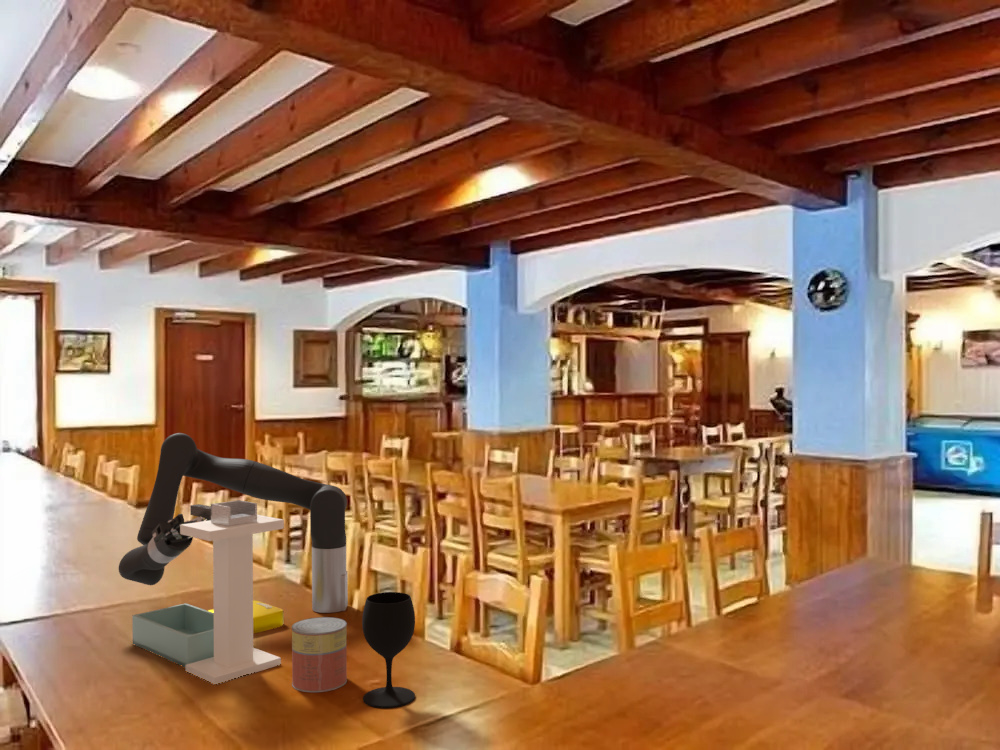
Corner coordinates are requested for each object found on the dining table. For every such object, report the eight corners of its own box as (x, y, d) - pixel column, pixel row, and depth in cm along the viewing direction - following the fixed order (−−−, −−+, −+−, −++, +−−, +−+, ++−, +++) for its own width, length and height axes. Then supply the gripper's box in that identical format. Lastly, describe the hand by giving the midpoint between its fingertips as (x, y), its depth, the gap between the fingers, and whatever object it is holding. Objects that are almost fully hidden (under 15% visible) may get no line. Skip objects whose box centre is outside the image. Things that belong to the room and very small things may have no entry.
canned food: (327, 668, 185) (327, 613, 185) (357, 682, 177) (357, 624, 177) (281, 682, 177) (281, 625, 177) (310, 697, 169) (310, 636, 169)
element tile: (286, 626, 217) (286, 608, 217) (233, 640, 206) (232, 620, 206) (256, 615, 227) (256, 597, 227) (203, 627, 216) (203, 609, 216)
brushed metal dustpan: (180, 516, 193) (180, 498, 193) (208, 512, 198) (208, 494, 198) (228, 526, 180) (228, 507, 180) (257, 522, 185) (257, 503, 185)
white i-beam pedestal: (181, 672, 182) (180, 524, 182) (254, 651, 196) (253, 513, 196) (210, 686, 175) (209, 531, 174) (284, 663, 188) (283, 519, 188)
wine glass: (423, 691, 171) (423, 593, 171) (401, 711, 161) (400, 606, 161) (377, 685, 175) (377, 589, 174) (353, 704, 165) (352, 602, 165)
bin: (132, 644, 202) (132, 615, 202) (186, 631, 212) (185, 603, 212) (187, 669, 185) (187, 637, 185) (242, 653, 195) (242, 622, 195)
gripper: (136, 532, 199) (165, 504, 190) (193, 524, 210) (223, 496, 201) (144, 562, 197) (174, 534, 188) (201, 552, 208) (232, 525, 198)
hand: (199, 515), depth 194 cm, fingers open, 8 cm apart
